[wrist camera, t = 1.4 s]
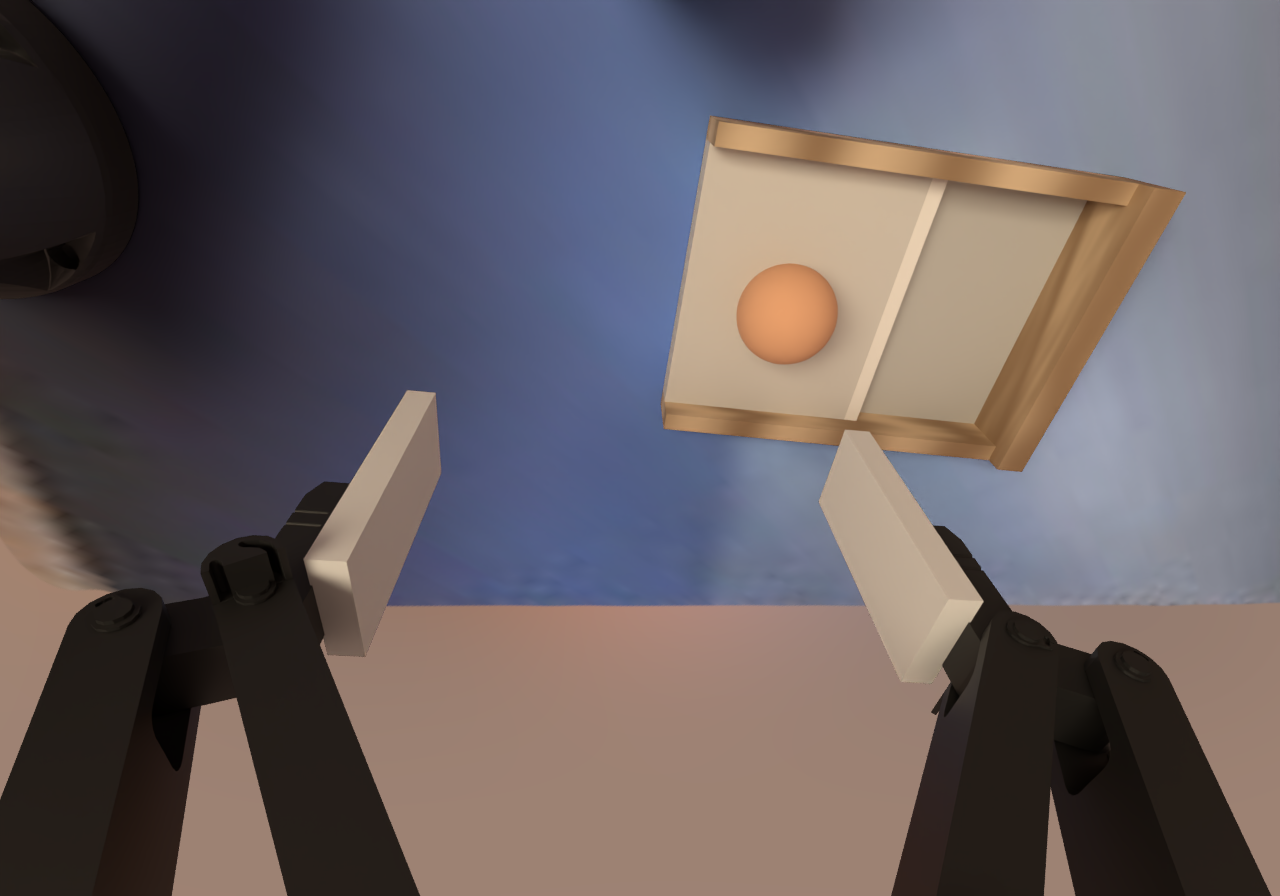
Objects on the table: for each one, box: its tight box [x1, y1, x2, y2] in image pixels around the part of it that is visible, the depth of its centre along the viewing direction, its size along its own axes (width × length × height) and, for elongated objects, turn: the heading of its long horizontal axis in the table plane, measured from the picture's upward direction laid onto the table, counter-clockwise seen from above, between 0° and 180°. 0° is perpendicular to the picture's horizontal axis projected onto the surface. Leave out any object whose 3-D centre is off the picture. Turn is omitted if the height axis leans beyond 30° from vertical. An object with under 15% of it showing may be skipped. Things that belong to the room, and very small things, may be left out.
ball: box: [736, 263, 838, 365], centre depth 30 cm, size 5×5×5 cm
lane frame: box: [661, 116, 1186, 472], centre depth 33 cm, size 22×16×4 cm
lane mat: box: [663, 139, 1087, 424], centre depth 34 cm, size 20×14×2 cm
